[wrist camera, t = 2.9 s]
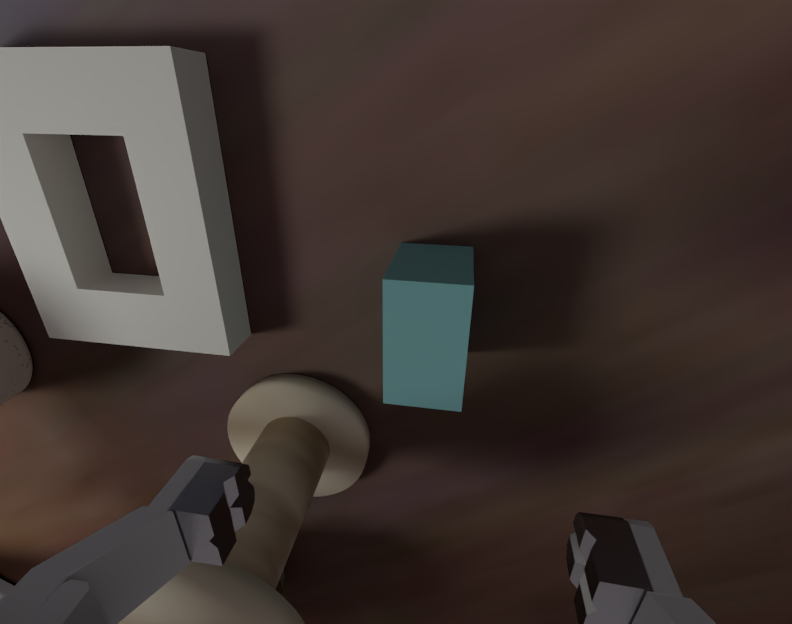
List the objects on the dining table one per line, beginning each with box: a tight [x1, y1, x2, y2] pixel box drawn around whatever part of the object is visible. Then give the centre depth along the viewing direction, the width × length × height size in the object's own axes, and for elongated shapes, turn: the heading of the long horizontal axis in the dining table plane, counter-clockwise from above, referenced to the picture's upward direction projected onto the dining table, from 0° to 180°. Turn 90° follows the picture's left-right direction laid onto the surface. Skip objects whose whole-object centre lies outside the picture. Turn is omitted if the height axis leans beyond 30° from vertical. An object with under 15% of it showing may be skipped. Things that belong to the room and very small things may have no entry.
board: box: [0, 46, 251, 356], centre depth 21 cm, size 14×11×2 cm
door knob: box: [118, 374, 370, 624], centre depth 22 cm, size 9×9×12 cm
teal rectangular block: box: [383, 243, 474, 412], centre depth 19 cm, size 6×4×5 cm, turn 179°
